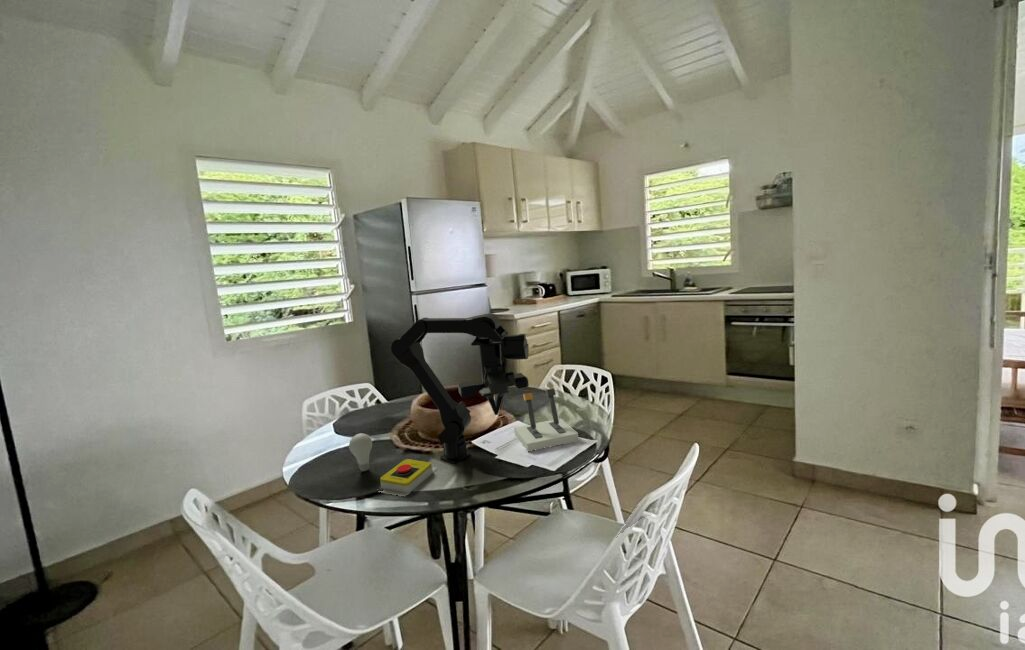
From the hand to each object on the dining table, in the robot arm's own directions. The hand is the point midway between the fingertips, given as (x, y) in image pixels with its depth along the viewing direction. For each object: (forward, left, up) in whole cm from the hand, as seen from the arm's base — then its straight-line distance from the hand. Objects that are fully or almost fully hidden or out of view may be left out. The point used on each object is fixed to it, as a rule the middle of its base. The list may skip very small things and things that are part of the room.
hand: (496, 414), depth 121 cm
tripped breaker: (+2, +14, -10) cm, 17 cm away
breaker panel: (+4, +17, -13) cm, 22 cm away
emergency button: (-14, -21, -14) cm, 29 cm away
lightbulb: (-29, -25, -13) cm, 41 cm away
